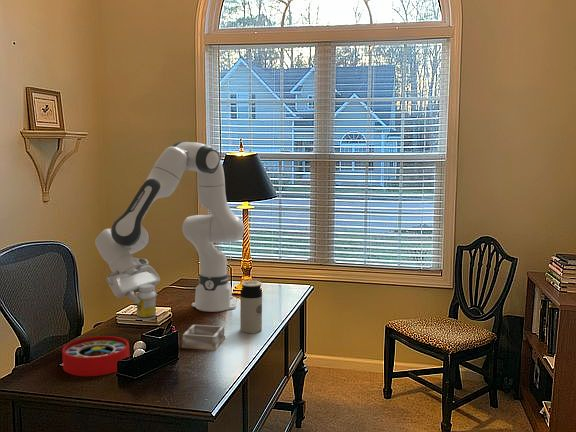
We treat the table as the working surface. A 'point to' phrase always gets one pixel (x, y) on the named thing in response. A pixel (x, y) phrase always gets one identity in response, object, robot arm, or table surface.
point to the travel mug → (251, 307)
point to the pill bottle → (146, 302)
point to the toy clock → (94, 355)
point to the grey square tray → (203, 337)
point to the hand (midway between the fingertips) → (147, 299)
